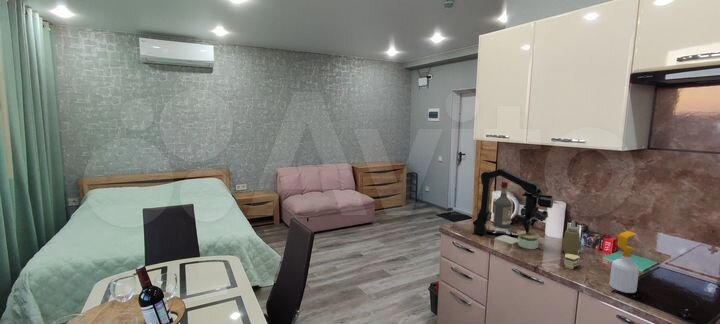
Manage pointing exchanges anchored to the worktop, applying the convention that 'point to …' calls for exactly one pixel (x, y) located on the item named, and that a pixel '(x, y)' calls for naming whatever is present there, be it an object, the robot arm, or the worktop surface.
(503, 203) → the liquor
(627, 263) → the soap bottle
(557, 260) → the worktop surface
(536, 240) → the bowl
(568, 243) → the squeeze bottle
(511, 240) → the mat
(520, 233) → the lid
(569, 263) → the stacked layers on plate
